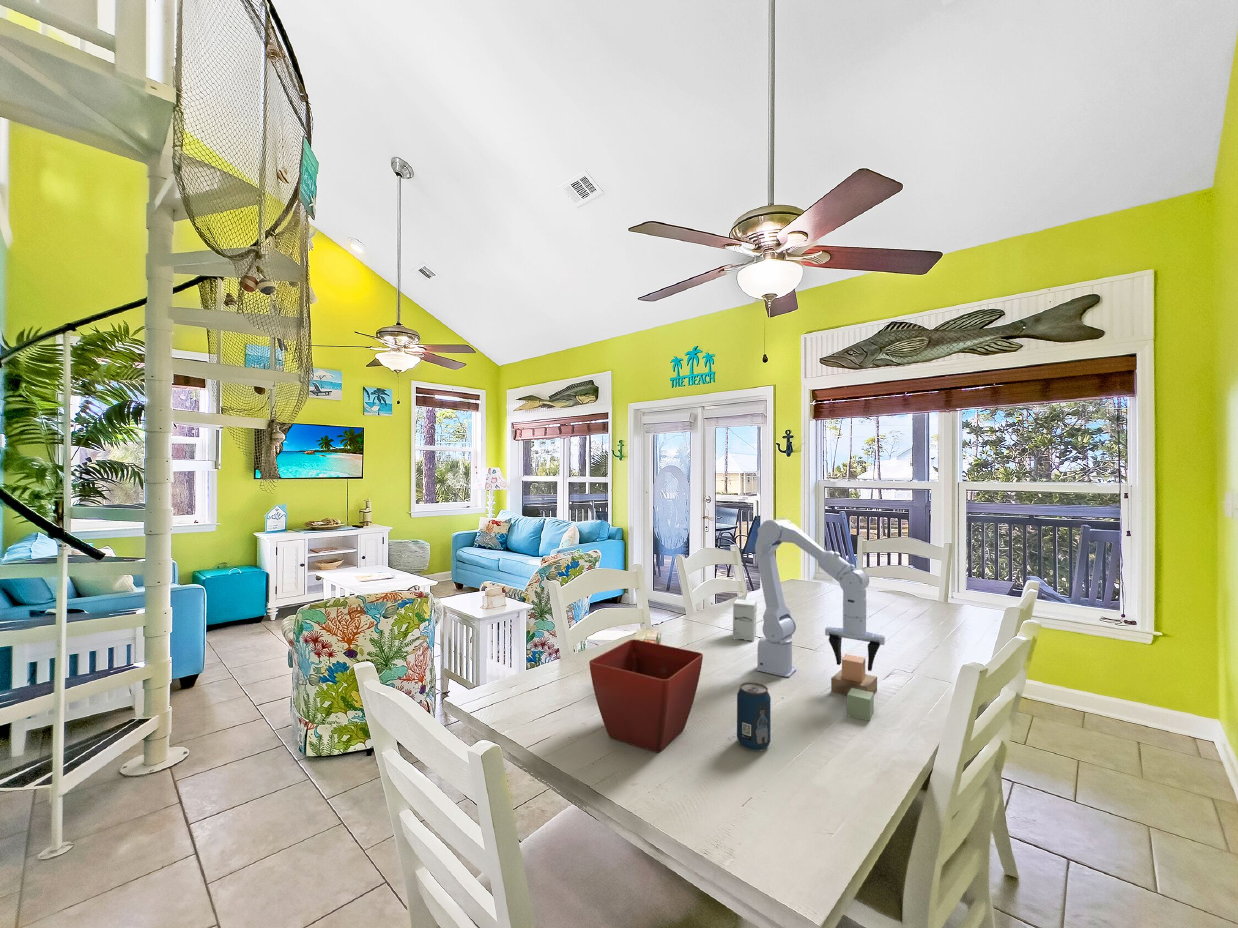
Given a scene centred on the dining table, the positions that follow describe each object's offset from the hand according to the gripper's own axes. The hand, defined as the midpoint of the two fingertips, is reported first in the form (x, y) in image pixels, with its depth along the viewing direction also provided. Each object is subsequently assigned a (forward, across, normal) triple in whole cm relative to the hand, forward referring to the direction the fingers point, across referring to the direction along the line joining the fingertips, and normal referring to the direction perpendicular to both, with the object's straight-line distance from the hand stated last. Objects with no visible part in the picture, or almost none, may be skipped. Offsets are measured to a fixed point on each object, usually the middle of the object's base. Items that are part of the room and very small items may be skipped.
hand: (854, 666), depth 144 cm
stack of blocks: (+7, -51, -21) cm, 56 cm away
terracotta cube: (+3, 0, 0) cm, 3 cm away
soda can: (+7, -12, -43) cm, 45 cm away
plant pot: (+7, -33, -52) cm, 62 cm away
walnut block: (+7, 0, 0) cm, 7 cm away
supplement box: (+7, -41, +28) cm, 50 cm away
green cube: (+6, +4, -14) cm, 16 cm away
